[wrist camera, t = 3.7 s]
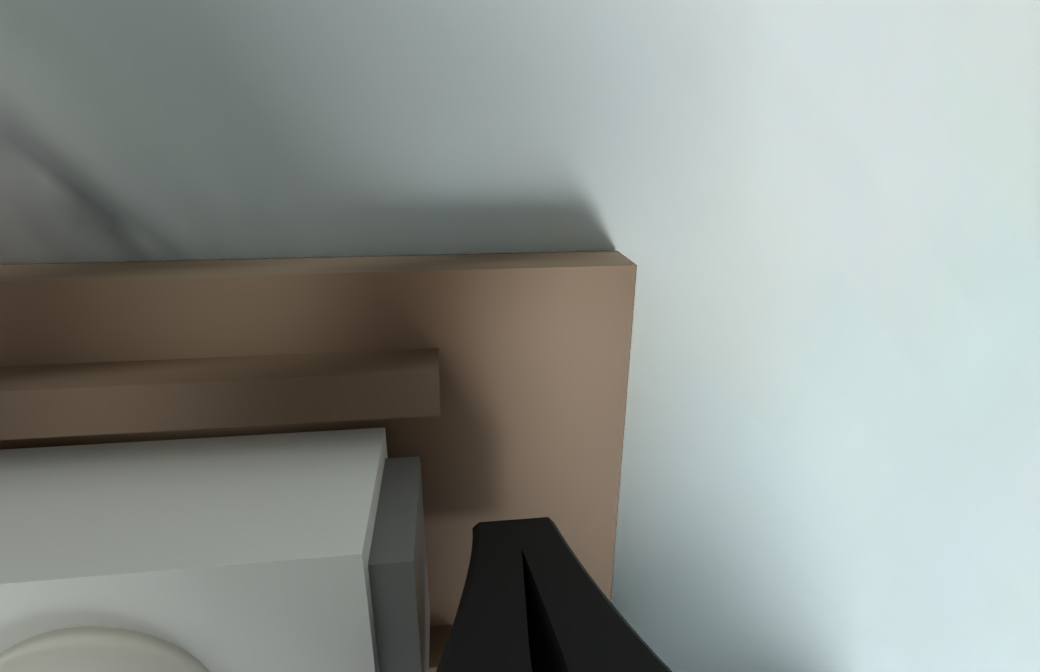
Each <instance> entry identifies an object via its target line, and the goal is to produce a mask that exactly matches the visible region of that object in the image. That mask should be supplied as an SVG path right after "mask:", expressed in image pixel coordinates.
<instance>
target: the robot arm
mask: <svg viewBox="0 0 1040 672" xmlns="http://www.w3.org/2000/svg"><path fill="white" fill-rule="evenodd" d="M472 534H473V541H472V551H471V557H470V563H469V568H468V572H467V577H466V581H465V585H464V589H463V592H462V596H461V599H460V603H459V606H458V610H457V613H456V617H455V620H454V623H453V626H452V629H451V632H450V634H449V637H448V640H447V643H446V645H445V648H444V651H443V654H442V656H441V659H440V662H439V665H438V667H437V670H436V672H672V671H671V670H670V669H669V668H668V667H667V666H666V665H665V664H664V663H663V662H662V661H661V659H660V658H659V657H658V656H657V655H656V654H655V653H654V652H653V651H652V650H651V649H650V648H649V646H648V645H647V644H646V643H645V642H644V641H643V640H642V639H641V637H640V636H639V635H638V634H637V633H636V632H635V631H634V630H633V628H632V627H631V626H630V625H629V624H628V623H627V621H626V620H625V619H624V618H623V617H622V615H621V614H620V613H619V612H618V611H617V609H616V608H615V607H614V606H613V604H612V603H611V602H610V600H609V599H608V598H607V597H606V595H605V594H604V593H603V592H602V590H601V589H600V588H599V587H598V585H597V584H596V583H595V581H594V580H593V579H592V577H591V576H590V575H589V573H588V572H587V571H586V569H585V568H584V567H583V565H582V564H581V562H580V561H579V560H578V558H577V557H576V555H575V554H574V552H573V551H572V550H571V548H570V547H569V545H568V544H567V542H566V541H565V539H564V537H563V536H562V534H561V533H560V531H559V530H558V528H557V526H556V525H555V523H554V522H553V521H552V520H551V519H550V518H549V517H541V518H528V519H514V520H501V521H488V522H479V523H477V524H476V525H475V526H474V527H473V528H472Z"/></svg>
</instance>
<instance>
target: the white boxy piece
mask: <svg viewBox="0 0 1040 672" xmlns="http://www.w3.org/2000/svg"><path fill="white" fill-rule="evenodd" d="M429 643H430V602H429V587H428V571H427V556H426V540H425V525H424V509H423V494H422V478H421V463H420V456H417V457H402V458H388V456H387V445H386V433H385V427H384V428H367V429H349V430H332V431H315V432H297V433H280V434H263V435H245V436H228V437H211V438H194V439H176V440H159V441H142V442H124V443H107V444H90V445H72V446H55V447H38V448H21V449H3V450H0V672H429Z"/></svg>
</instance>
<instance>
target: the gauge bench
mask: <svg viewBox="0 0 1040 672" xmlns="http://www.w3.org/2000/svg"><path fill="white" fill-rule="evenodd" d="M636 270H637V265H636V264H634V263H633V262H632V261H630V260H629V259H628V258H626V257H625V256H624V255H622V254H621V253H620V252H618V251H589V252H544V253H499V254H455V255H410V256H365V257H320V258H276V259H231V260H186V261H141V262H97V263H52V264H7V265H0V450H3V449H21V448H38V447H55V446H72V445H90V444H107V443H124V442H142V441H159V440H176V439H194V438H211V437H228V436H245V435H263V434H280V433H297V432H315V431H332V430H349V429H367V428H384V427H385V433H386V445H387V456H388V458H402V457H417V456H420V463H421V478H422V494H423V509H424V525H425V540H426V556H427V571H428V587H429V602H430V643H429V672H436V670H437V667H438V665H439V662H440V659H441V656H442V654H443V651H444V648H445V645H446V643H447V640H448V637H449V634H450V632H451V629H452V626H453V623H454V620H455V617H456V613H457V610H458V606H459V603H460V599H461V596H462V592H463V589H464V585H465V581H466V577H467V572H468V568H469V563H470V557H471V551H472V541H473V534H472V528H473V527H474V526H475V525H476V524H477V523H479V522H488V521H501V520H514V519H528V518H541V517H549V518H550V519H551V520H552V521H553V522H554V523H555V525H556V526H557V528H558V530H559V531H560V533H561V534H562V536H563V537H564V539H565V541H566V542H567V544H568V545H569V547H570V548H571V550H572V551H573V552H574V554H575V555H576V557H577V558H578V560H579V561H580V562H581V564H582V565H583V567H584V568H585V569H586V571H587V572H588V573H589V575H590V576H591V577H592V579H593V580H594V581H595V583H596V584H597V585H598V587H599V588H600V589H601V590H602V592H603V593H604V594H605V595H606V597H607V598H608V599H609V600H610V602H611V589H612V576H613V564H614V551H615V538H616V525H617V513H618V500H619V487H620V474H621V462H622V449H623V436H624V423H625V411H626V398H627V385H628V372H629V360H630V347H631V334H632V321H633V309H634V296H635V283H636Z"/></svg>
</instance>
